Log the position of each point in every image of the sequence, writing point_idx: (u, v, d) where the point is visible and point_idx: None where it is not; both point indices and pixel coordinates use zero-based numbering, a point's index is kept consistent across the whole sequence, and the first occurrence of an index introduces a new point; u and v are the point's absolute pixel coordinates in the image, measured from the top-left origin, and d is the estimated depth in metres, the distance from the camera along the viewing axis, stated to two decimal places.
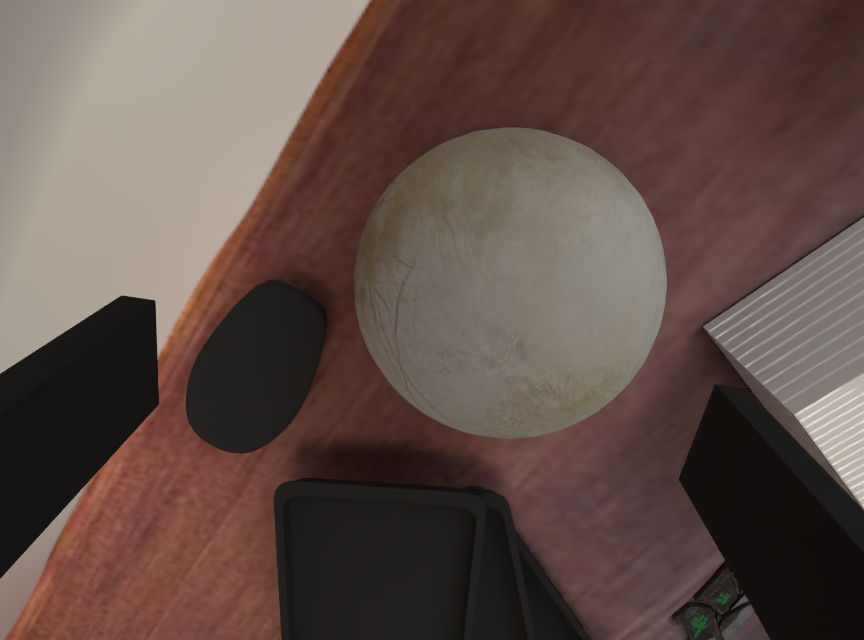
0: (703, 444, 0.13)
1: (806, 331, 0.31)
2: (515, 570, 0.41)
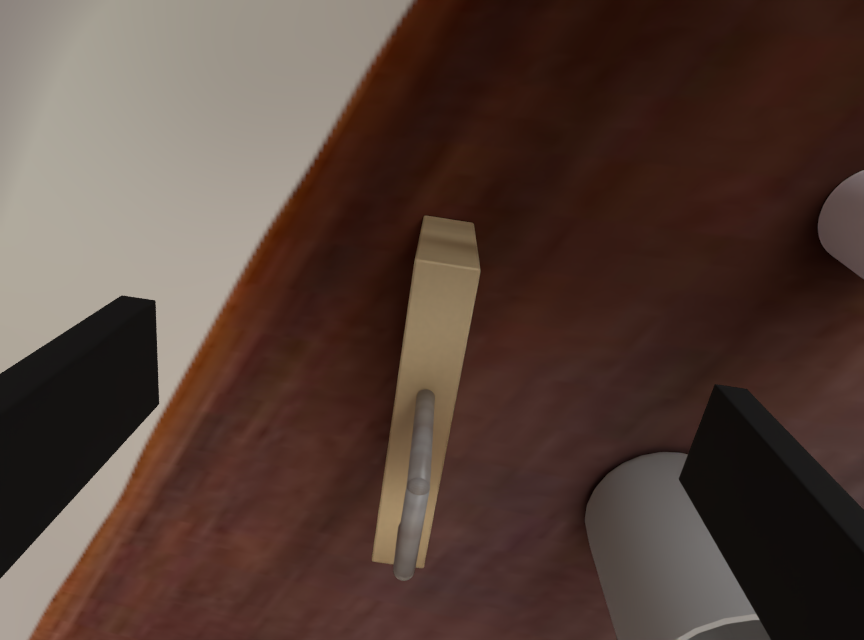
0: (703, 444, 0.13)
1: None
2: None
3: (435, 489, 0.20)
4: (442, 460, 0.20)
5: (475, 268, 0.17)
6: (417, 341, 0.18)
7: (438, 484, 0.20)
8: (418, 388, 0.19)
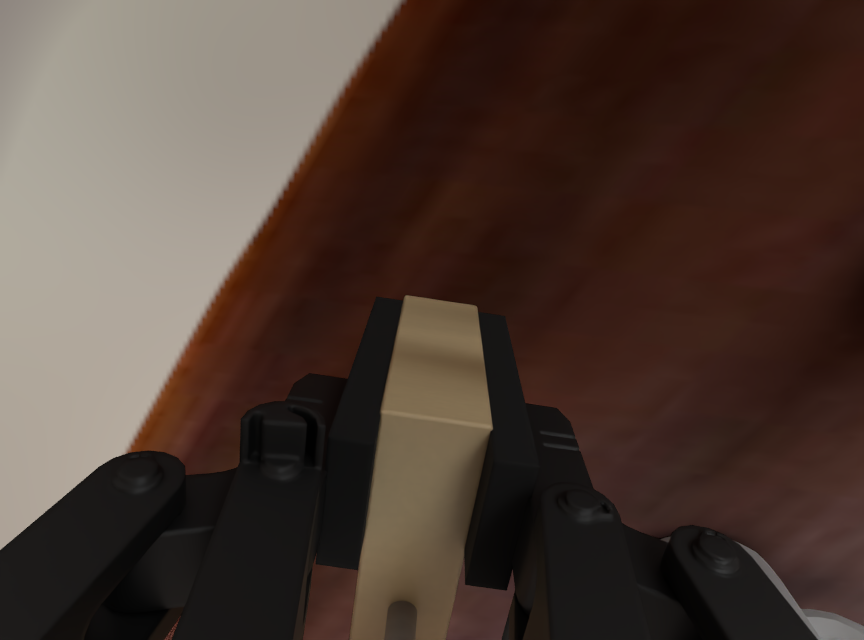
0: None
1: None
2: None
3: None
4: None
5: (484, 425, 0.10)
6: (387, 533, 0.11)
7: None
8: (390, 600, 0.12)
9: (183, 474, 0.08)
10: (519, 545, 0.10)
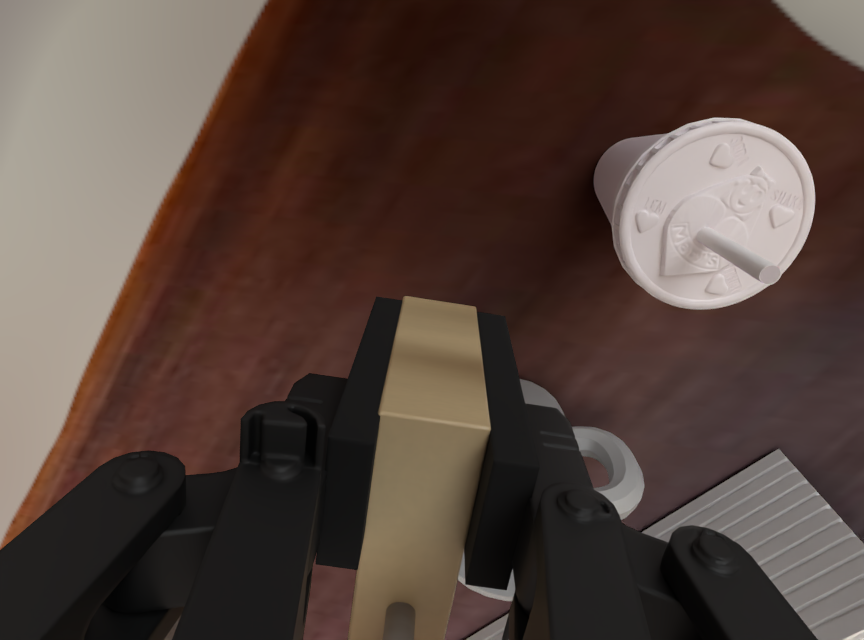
0: None
1: None
2: None
3: None
4: None
5: (482, 426, 0.10)
6: (386, 534, 0.11)
7: None
8: (388, 601, 0.12)
9: (183, 474, 0.08)
10: (519, 545, 0.10)
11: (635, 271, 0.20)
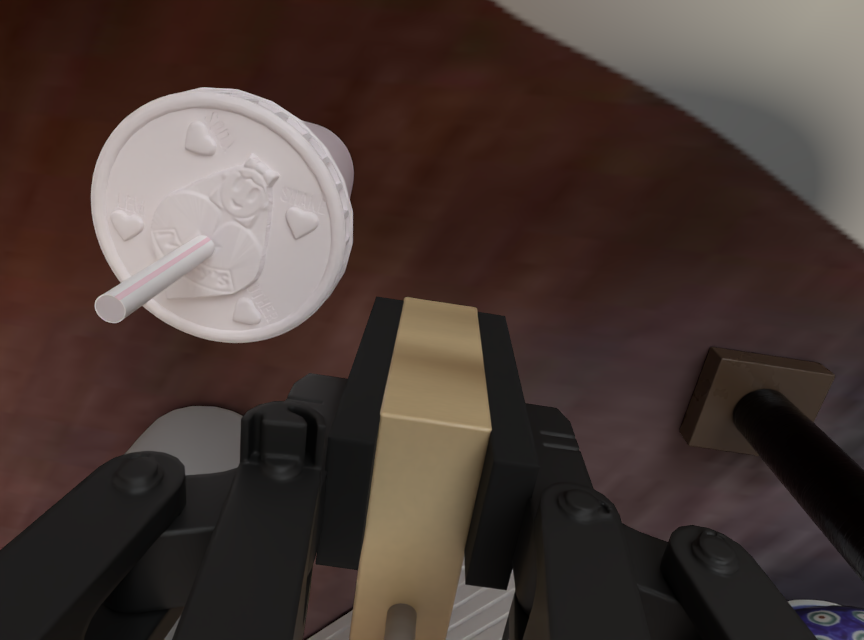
0: None
1: None
2: None
3: None
4: None
5: (483, 428, 0.10)
6: (387, 536, 0.11)
7: None
8: (389, 603, 0.12)
9: (183, 474, 0.08)
10: (519, 545, 0.10)
11: None
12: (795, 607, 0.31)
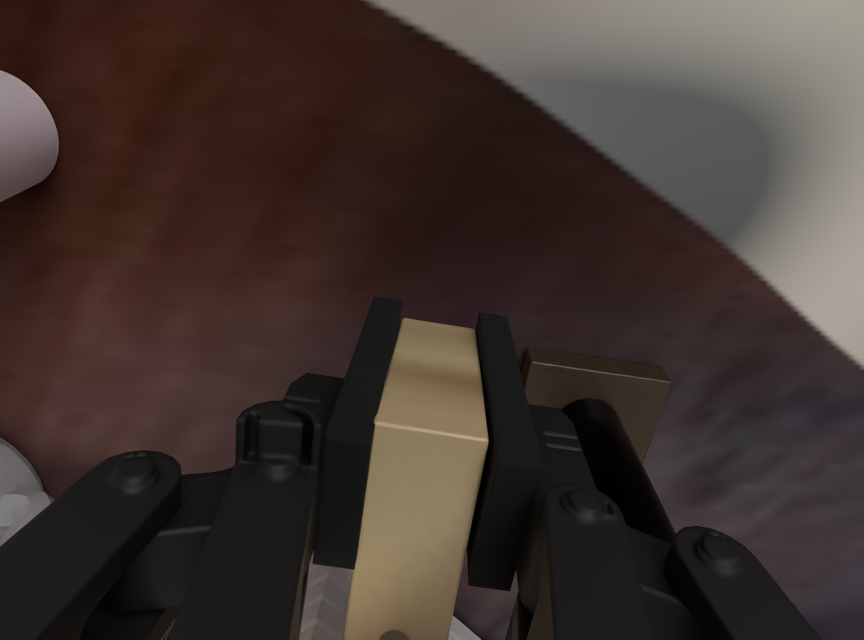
0: None
1: None
2: None
3: None
4: None
5: (479, 438, 0.10)
6: (379, 555, 0.10)
7: None
8: (382, 629, 0.11)
9: (179, 474, 0.08)
10: (522, 546, 0.10)
11: None
12: None
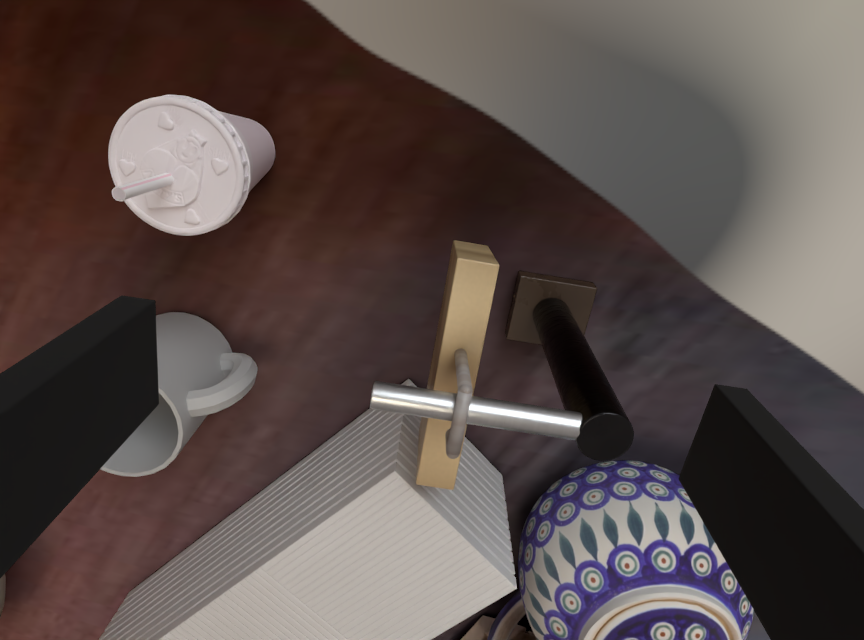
0: (703, 443, 0.13)
1: (116, 635, 0.43)
2: None
3: None
4: None
5: (496, 264, 0.27)
6: (456, 314, 0.27)
7: None
8: (456, 347, 0.28)
9: None
10: None
11: (129, 205, 0.27)
12: None
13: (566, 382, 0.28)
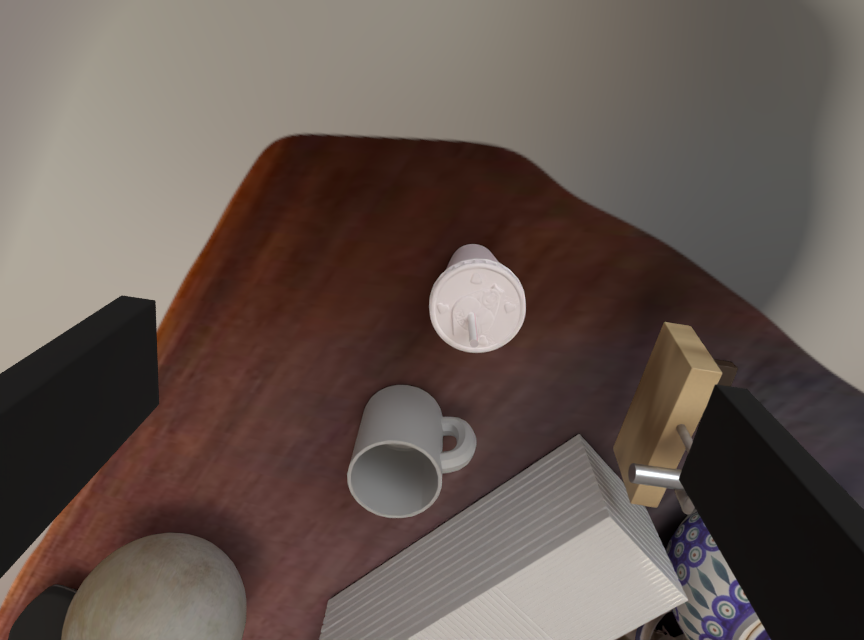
0: (703, 444, 0.13)
1: (342, 635, 0.54)
2: None
3: None
4: (681, 456, 0.39)
5: (720, 372, 0.36)
6: (683, 402, 0.37)
7: (676, 467, 0.40)
8: (678, 423, 0.38)
9: None
10: None
11: (439, 333, 0.38)
12: None
13: None
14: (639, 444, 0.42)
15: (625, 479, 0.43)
